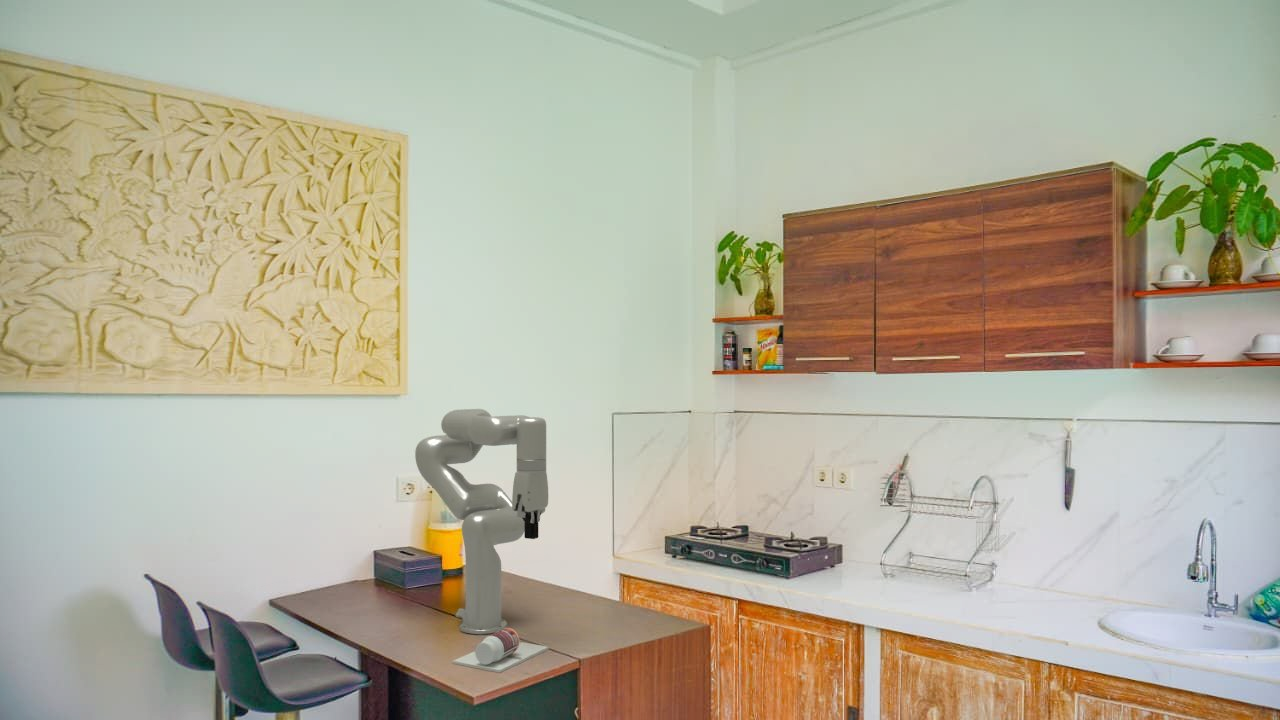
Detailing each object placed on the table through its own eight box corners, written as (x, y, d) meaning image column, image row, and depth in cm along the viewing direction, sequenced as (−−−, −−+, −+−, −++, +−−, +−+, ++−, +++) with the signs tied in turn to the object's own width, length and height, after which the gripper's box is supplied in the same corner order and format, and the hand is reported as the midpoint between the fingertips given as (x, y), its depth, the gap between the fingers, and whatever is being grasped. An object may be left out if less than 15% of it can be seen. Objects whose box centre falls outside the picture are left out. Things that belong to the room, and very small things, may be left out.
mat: (452, 663, 217) (452, 660, 217) (503, 641, 234) (503, 638, 234) (499, 672, 210) (499, 669, 210) (548, 649, 228) (548, 646, 228)
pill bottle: (503, 623, 224) (477, 635, 213) (523, 634, 221) (498, 647, 211) (496, 645, 225) (469, 659, 214) (516, 657, 222) (490, 671, 212)
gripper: (536, 462, 240) (536, 532, 240) (501, 468, 227) (501, 541, 227) (560, 464, 236) (560, 534, 236) (526, 469, 223) (526, 544, 223)
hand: (531, 538), depth 231 cm, fingers closed
